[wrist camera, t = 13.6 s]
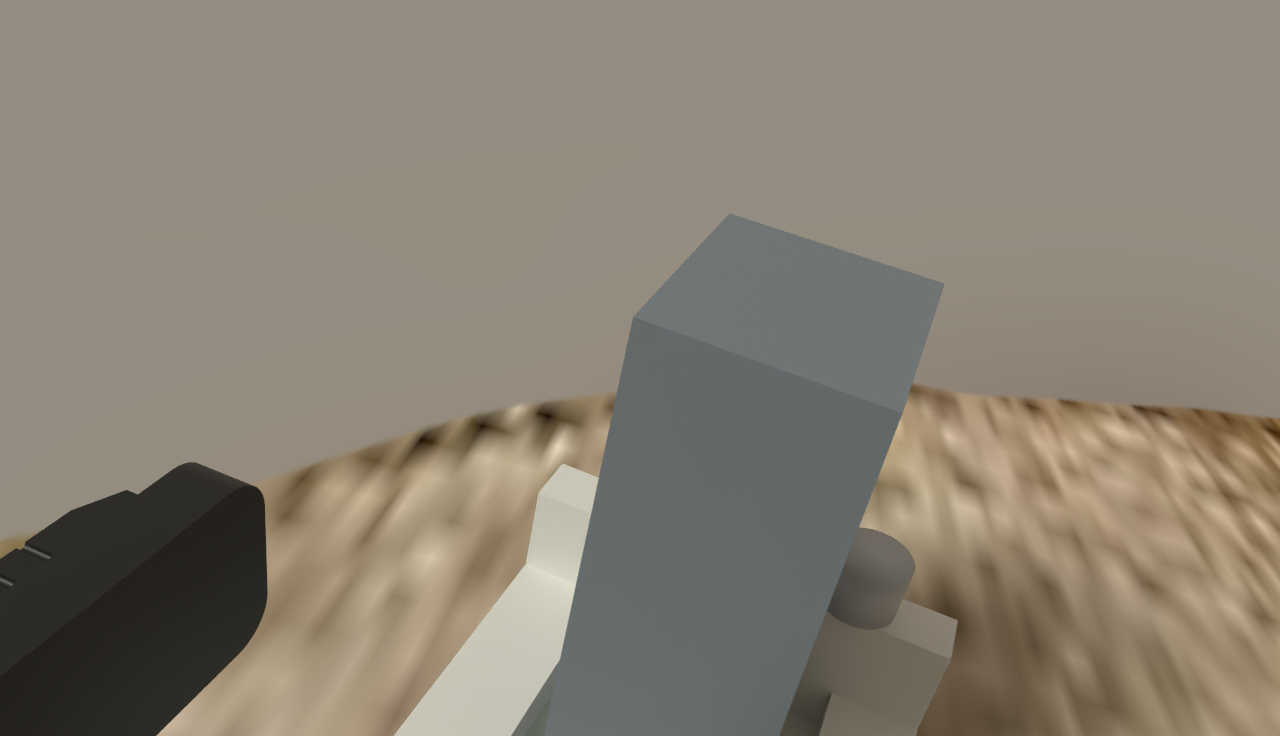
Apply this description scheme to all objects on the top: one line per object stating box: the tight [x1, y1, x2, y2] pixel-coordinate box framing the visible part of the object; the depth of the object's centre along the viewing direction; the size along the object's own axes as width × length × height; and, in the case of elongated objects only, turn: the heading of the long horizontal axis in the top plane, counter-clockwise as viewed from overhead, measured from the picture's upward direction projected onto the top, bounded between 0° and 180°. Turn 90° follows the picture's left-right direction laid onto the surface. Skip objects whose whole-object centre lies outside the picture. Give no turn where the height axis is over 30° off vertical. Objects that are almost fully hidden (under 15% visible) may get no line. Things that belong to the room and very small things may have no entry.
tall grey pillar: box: [544, 214, 944, 736], centre depth 22 cm, size 6×4×13 cm
